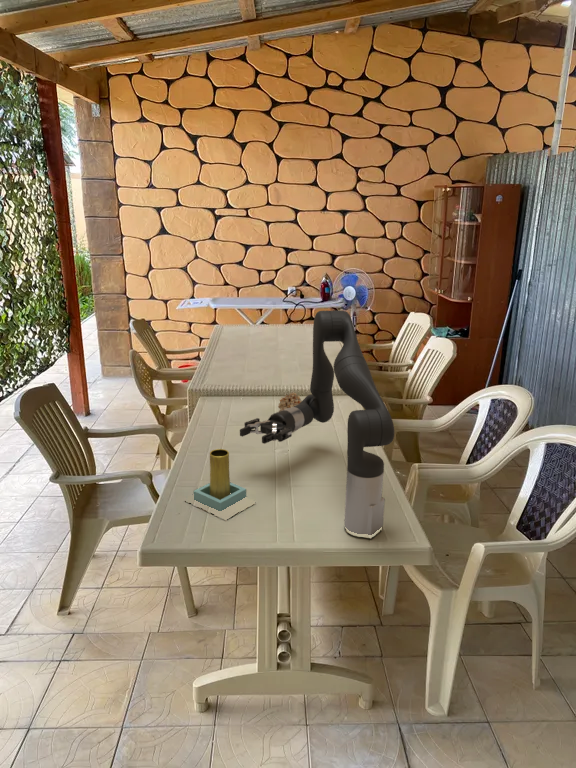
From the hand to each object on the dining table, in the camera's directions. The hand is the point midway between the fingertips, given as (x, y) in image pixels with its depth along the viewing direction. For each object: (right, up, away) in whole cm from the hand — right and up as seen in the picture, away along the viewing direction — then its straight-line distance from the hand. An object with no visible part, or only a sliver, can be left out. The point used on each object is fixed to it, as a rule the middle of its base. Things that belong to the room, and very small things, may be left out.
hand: (251, 436), depth 176 cm
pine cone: (+12, 0, +54) cm, 56 cm away
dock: (-9, -18, -3) cm, 20 cm away
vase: (-9, -17, -3) cm, 20 cm away
